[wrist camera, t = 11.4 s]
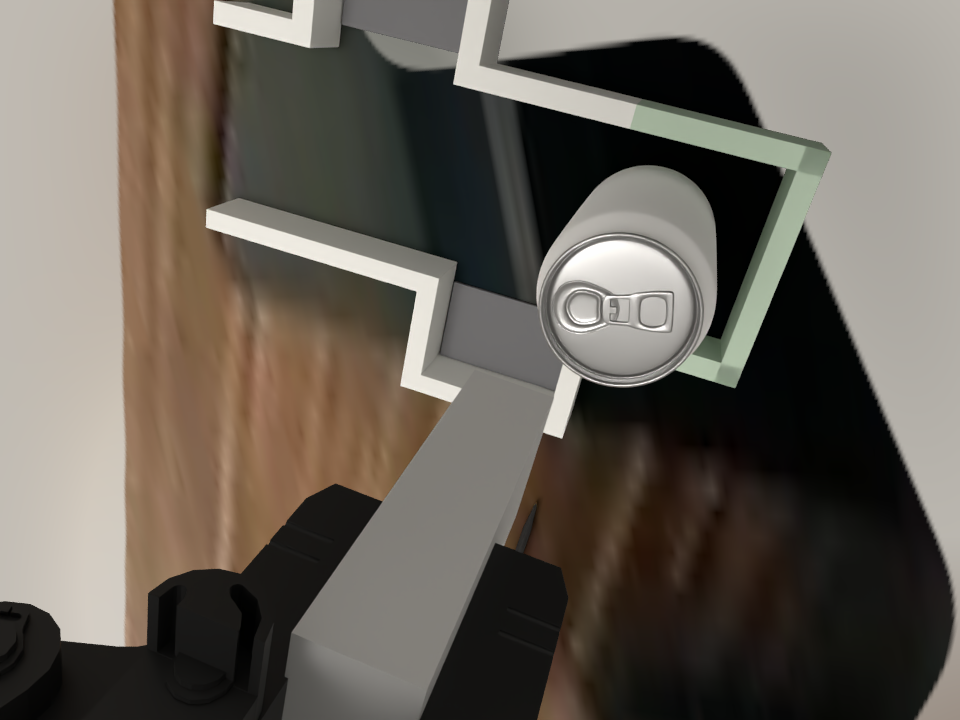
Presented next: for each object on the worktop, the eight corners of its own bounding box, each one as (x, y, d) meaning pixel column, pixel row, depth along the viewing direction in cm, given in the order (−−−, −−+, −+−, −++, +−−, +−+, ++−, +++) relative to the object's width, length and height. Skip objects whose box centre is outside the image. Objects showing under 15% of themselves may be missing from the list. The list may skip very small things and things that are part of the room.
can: (579, 163, 36) (523, 218, 25) (720, 162, 34) (725, 221, 23) (578, 292, 38) (528, 392, 28) (710, 297, 36) (710, 406, 26)
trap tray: (233, 303, 44) (202, 320, 42) (256, -127, 34) (219, -140, 32) (697, 452, 40) (696, 482, 37) (877, 5, 30) (892, 3, 27)
